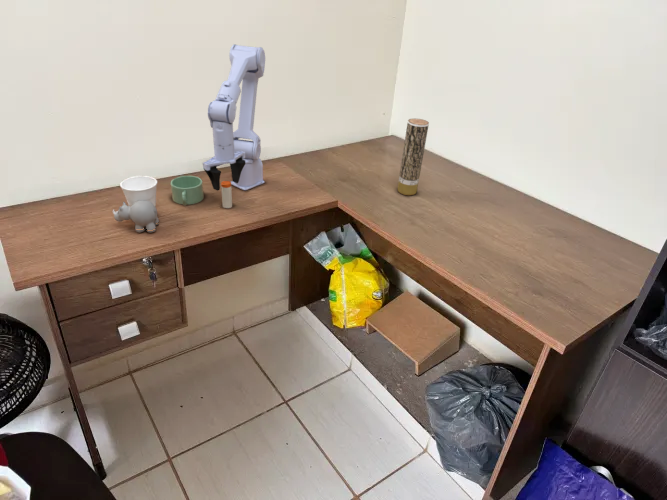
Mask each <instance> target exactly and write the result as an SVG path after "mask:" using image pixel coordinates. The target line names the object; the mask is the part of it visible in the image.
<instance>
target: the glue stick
mask: <svg viewBox="0 0 667 500" xmlns="http://www.w3.org/2000/svg"><path fill="white" fill-rule="evenodd" d="M220 190H221V202H222V203H221V205H222V208H223V209H231V208H233V194H232V193H233V192H232V191H233V190H232V185H231V181H230V180H223V181H221V182H220Z"/></svg>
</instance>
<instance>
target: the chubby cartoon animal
mask: <svg viewBox="0 0 667 500" xmlns="http://www.w3.org/2000/svg"><path fill="white" fill-rule="evenodd" d="M112 213H113V218H114V220H115V221H116V222H119V223H121V222H123V221H130V220H132V222H133V223H134V230H135V232H136V233H143V232H145V231H146V232H147V233H154V232H156V230H157V227H156V226H159V224H160V219H159V217H158V210H157V207H155V206H154V204H152V203H151V202H149V201H146V200H140V201H137V202H135V203H134V204H133V205H132V206H131V207H130V206H129V205H128V204H127V203H126V202H125V201H123V202H122V205H121V206H119V207H118V210H115V208H113V209H112ZM158 222H159V223H158ZM156 223H158V224H156ZM144 227H145V229H143V228H144ZM155 228H156V229H155ZM136 229H143V230H136ZM146 229H147V230H153V229H155V230H153V231H147V230H146Z"/></svg>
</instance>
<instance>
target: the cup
mask: <svg viewBox="0 0 667 500" xmlns="http://www.w3.org/2000/svg"><path fill="white" fill-rule="evenodd" d="M157 185H158V180H157V178H154V177H152V176H149V175H134V176H130V177H127V178H125V179H123V180H122V181H121V182H120V183H119V187H120V188H121V190H122V192H123V195H124V198H125V200H126V202H127V206H130V207H131V206H132V205H133V204H134V203H135V202H137V201H140V200H146V201H149V202H151V203H152V204H154V206H155V207H156V206H157ZM156 208H157V207H156Z"/></svg>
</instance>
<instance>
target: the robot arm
mask: <svg viewBox="0 0 667 500" xmlns="http://www.w3.org/2000/svg"><path fill="white" fill-rule="evenodd" d="M228 56H229V62H230V68H229V73H228V76H227V79H226V80H224V81H222V83H221V84H220V87H219V88H218V92H217V95H216V97H215V99H214V100H212V101H210V102H209V105H208V107H207V118H208V120H209V125H210V126H209V127H210V128H212V137H213V138H212V139H213V154H214V156H213V157H211V158H209V159H208V160H206V161H204V162H202V169H203V171H204V172H205V173H206V175H207V177H208V178H209V181H210V183H211V186H212V189H213V190H215V191H217V192H218V191H220V190H221V182H220V180H221V179H220V178H221V174H222V170H219V169H218V168H217V167H220V166H222V165H226V164H229V167H230V170H231V181H230V182H231V186H234V187H235V188H238V189H240V190H243V191H248V190H250V189H253V188H255V187H258V186H260V185H263V184H265V180H264V164H263V162H262V160H261V158H260V157H261V152H262V146H261V138H260V136H259V135H258V134H257V133H256V132H255V131H254V126H255V125H254V123H255V115H256V114H255V113H256V103H257V95H258V94H257V92H258V83H259V79H260V78H262V77H264V73H265V69H266V68H265V67H266V52H265V50H264V48H263V47H262V46H258V47H257V46H249V45H241V44H240V45H239V44H234V43H233V44H232V45H231V47H230V49H229V55H228ZM240 85H241V87H240ZM239 98H240V102H239V113H238V115H239V116H238V126H237V129H236V130H234V122H235V120H236V116H237V115H236V114H237V103H238V100H239Z"/></svg>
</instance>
